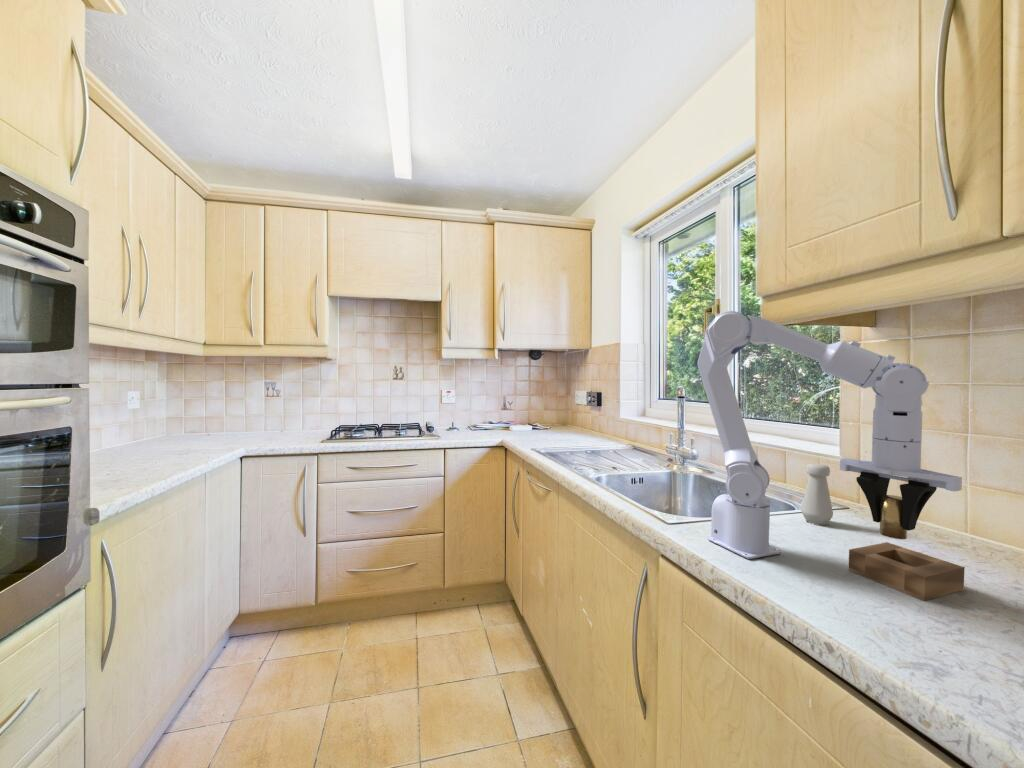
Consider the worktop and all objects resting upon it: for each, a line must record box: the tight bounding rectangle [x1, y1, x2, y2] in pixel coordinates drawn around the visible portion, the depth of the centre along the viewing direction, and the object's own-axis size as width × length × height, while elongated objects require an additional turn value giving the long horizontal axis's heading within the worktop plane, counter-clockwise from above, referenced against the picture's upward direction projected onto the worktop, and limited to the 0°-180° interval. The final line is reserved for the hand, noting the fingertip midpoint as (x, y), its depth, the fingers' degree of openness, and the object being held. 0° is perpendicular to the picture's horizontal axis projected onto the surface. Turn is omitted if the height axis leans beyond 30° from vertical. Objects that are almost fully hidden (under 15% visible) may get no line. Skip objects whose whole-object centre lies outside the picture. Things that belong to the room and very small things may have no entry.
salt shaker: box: [800, 462, 834, 526], centre depth 93 cm, size 6×6×13 cm
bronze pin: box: [879, 494, 908, 540], centre depth 66 cm, size 3×3×6 cm
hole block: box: [848, 541, 966, 602], centre depth 67 cm, size 10×10×4 cm
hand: (893, 525), depth 66 cm, fingers closed on bronze pin, 3 cm apart
